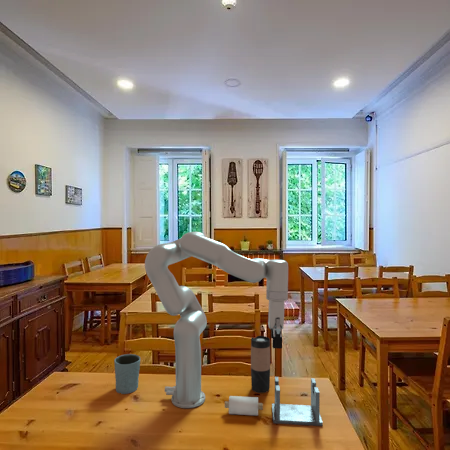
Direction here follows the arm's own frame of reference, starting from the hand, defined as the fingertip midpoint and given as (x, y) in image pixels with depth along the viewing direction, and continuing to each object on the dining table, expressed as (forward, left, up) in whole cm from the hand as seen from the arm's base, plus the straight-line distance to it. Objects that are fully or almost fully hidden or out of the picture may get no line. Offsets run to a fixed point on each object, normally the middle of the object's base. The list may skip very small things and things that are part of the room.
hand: (276, 342), depth 120 cm
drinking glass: (-58, +10, -24) cm, 64 cm away
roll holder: (+7, -3, -24) cm, 25 cm away
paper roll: (-11, -3, -24) cm, 27 cm away
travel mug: (-5, +15, -24) cm, 29 cm away
